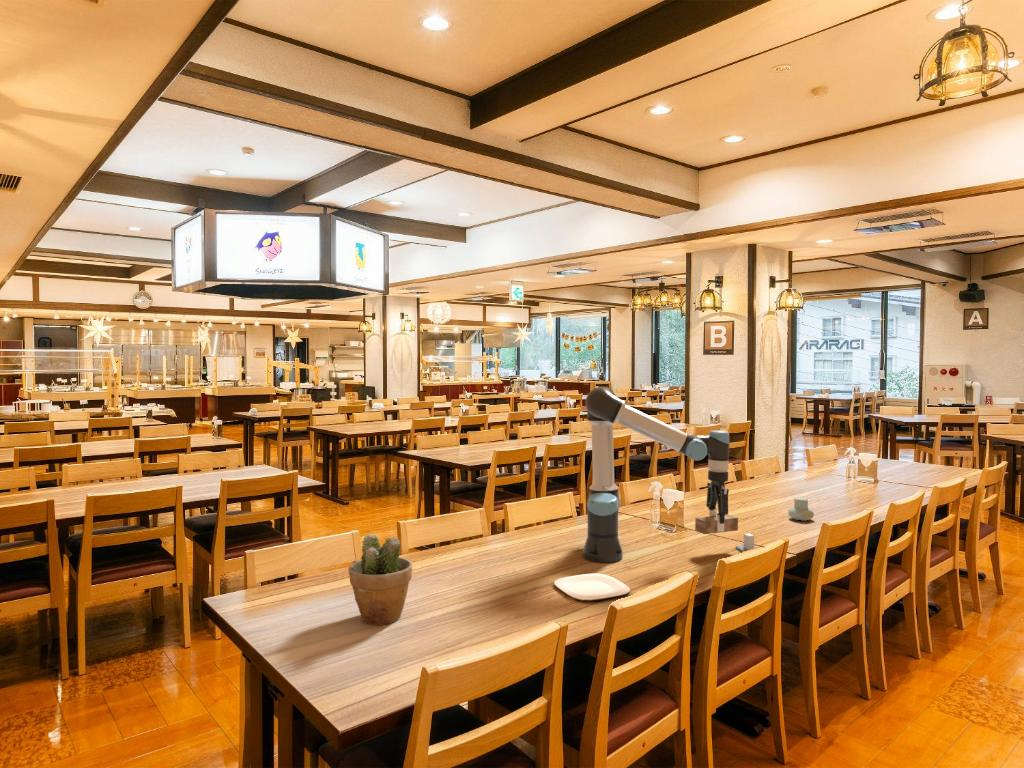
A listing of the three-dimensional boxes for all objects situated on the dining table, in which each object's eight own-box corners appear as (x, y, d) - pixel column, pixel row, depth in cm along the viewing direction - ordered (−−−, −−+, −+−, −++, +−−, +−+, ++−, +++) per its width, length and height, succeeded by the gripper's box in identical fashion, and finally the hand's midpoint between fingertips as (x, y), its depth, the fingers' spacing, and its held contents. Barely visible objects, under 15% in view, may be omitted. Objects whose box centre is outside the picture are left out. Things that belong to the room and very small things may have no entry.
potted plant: (335, 625, 179) (334, 538, 179) (372, 602, 197) (371, 523, 196) (391, 635, 173) (390, 545, 172) (424, 610, 190) (423, 528, 189)
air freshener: (803, 516, 303) (803, 496, 302) (816, 520, 295) (817, 499, 295) (785, 518, 299) (785, 497, 299) (798, 522, 292) (798, 501, 291)
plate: (579, 607, 193) (579, 601, 193) (547, 584, 213) (547, 579, 213) (638, 596, 202) (638, 591, 202) (602, 575, 222) (602, 570, 222)
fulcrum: (745, 554, 244) (745, 537, 244) (735, 548, 252) (735, 532, 252) (762, 553, 245) (762, 537, 245) (751, 547, 253) (752, 531, 252)
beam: (704, 534, 241) (704, 521, 241) (695, 530, 246) (695, 517, 246) (737, 530, 247) (738, 517, 246) (728, 526, 252) (728, 514, 252)
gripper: (739, 474, 236) (737, 535, 237) (716, 466, 256) (714, 522, 256) (720, 475, 235) (718, 536, 236) (698, 466, 255) (696, 522, 255)
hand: (716, 528), depth 246 cm, fingers closed on beam, 6 cm apart
